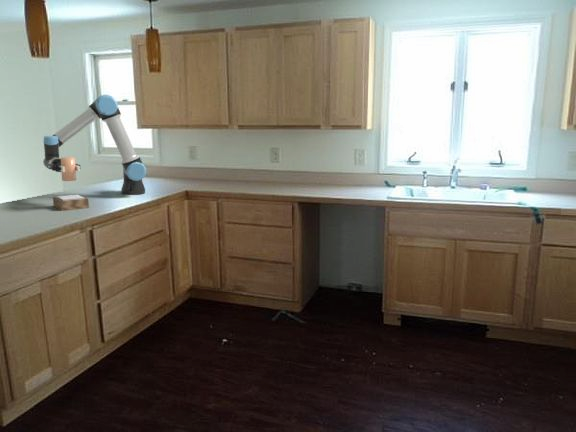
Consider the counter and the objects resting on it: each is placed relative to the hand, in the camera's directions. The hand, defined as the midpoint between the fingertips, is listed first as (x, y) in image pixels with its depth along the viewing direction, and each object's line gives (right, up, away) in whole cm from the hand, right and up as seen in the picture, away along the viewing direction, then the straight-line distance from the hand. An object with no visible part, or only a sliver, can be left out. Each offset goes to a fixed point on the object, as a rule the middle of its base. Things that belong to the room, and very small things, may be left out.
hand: (71, 169), depth 245 cm
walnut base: (-4, -20, +8) cm, 22 cm away
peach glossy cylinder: (-4, -6, +5) cm, 8 cm away
